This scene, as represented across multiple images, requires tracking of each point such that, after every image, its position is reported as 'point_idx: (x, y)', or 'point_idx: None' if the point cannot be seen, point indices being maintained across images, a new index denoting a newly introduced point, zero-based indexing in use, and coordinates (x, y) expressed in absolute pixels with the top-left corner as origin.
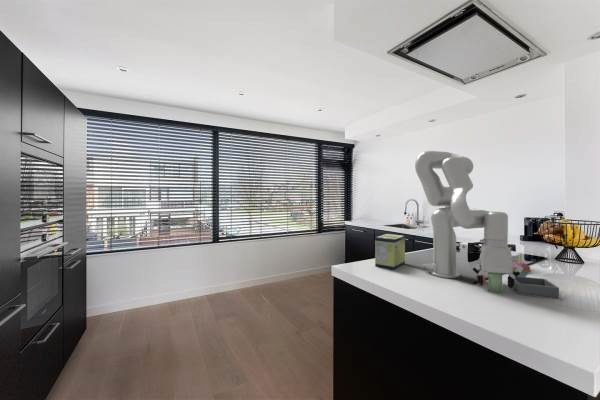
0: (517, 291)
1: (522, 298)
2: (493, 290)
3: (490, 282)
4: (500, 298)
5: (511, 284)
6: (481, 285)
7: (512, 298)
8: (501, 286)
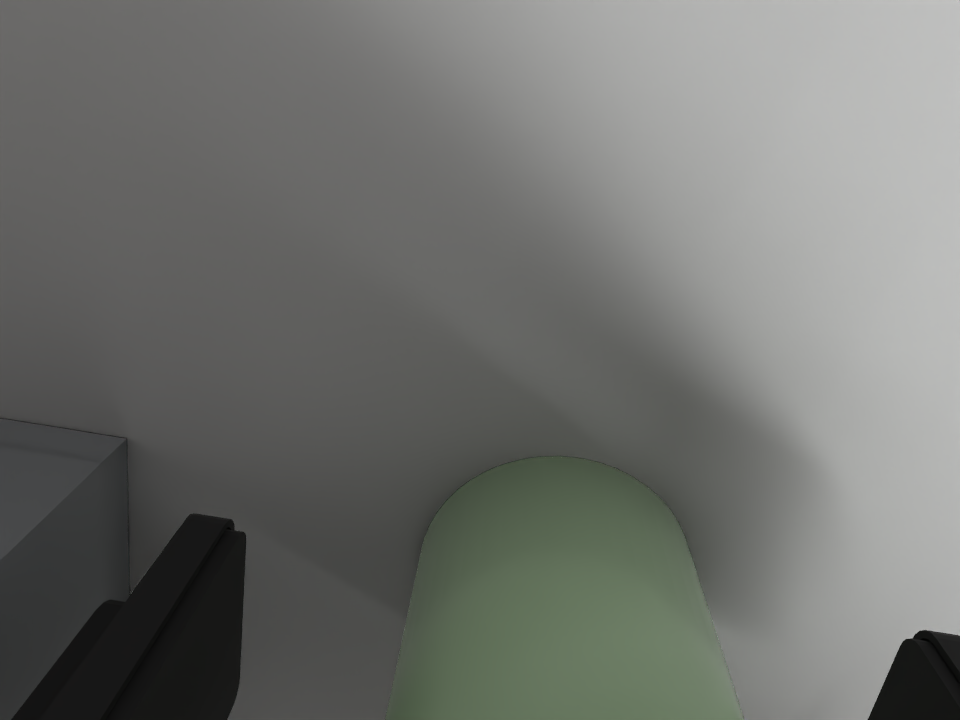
0: (100, 504)
1: (118, 172)
2: (645, 502)
3: (736, 697)
4: (698, 42)
5: (166, 589)
6: (938, 634)
7: (367, 116)
8: (443, 583)
